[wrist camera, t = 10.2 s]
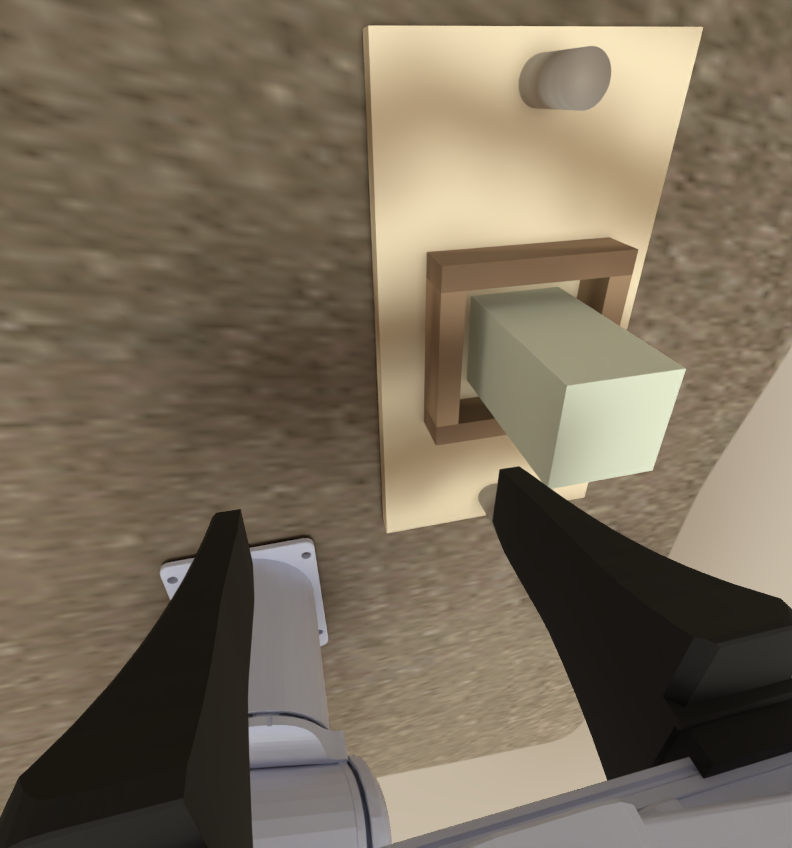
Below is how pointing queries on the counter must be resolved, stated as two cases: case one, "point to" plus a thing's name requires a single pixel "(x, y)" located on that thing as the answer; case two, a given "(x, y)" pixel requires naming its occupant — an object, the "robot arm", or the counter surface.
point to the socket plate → (500, 218)
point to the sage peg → (569, 385)
